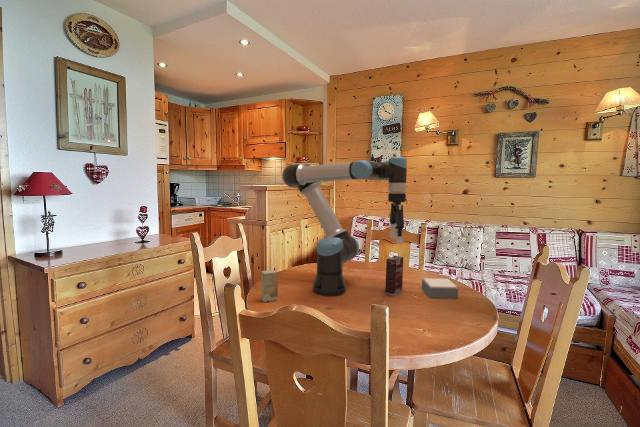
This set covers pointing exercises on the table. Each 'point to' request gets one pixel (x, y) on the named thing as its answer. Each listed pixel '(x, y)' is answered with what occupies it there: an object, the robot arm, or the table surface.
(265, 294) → the skincare box
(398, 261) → the supplement box
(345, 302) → the table surface
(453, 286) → the platform
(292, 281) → the table surface
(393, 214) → the robot arm
